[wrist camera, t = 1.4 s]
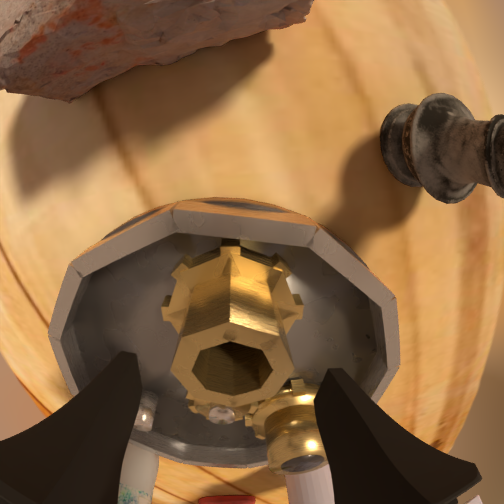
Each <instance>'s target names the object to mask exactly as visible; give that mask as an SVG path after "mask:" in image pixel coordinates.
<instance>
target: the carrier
mask: <svg viewBox="0 0 504 504" xmlns="http://www.w3.org/2000/svg"><path fill="white" fill-rule="evenodd" d="M224 238H233V239H240V246H242V247H245V248H247V249H250V250H253V251H255V252H258V253H261V254H263V255H266V256H269V257H272V256H273V255H274V254H275V253H278V254H279V255H280V256H281V257H282V258H283V259H284V260H285V261H286V262H287V263H288V265H289V267H290V270H291V272H292V274H291V275H290V276H289V277H287V278H286V281H287V283H288V286H289V288H290V291H291V293H292V294H299V295H300V297H301V299H302V302H303V304H304V308H303V316H302V319H297V320H295V321H294V323H293V325H292V326H291V328H290V330H289V331H288V333H287V334H286V337H287V341H288V344H289V348H290V352H291V356H292V360H293V364H294V368H295V369H294V371H293V372H292V373H291V375H290V376H289V377H288V379H287V380H286V381H285V383H284V384H283V385H282V387H281V388H280V389H279V391H278V392H277V393H276V395H275V396H274V397H271V398H267V399H264V400H260V401H257V402H253V403H249V404H245V405H241V406H237V407H231V406H226V405H222V404H217V403H213V402H209V401H205V400H201V399H198V398H194V397H193V396H192V395H191V394H190V393H189V392H188V391H187V389H186V388H185V387H184V386H183V385H182V384H181V382H180V381H179V380H178V379H177V378H176V377H175V375H174V374H173V373H172V372H171V370H170V369H171V365H172V361H173V357H174V353H175V349H176V345H177V341H178V337H179V334H178V332H177V331H176V329H175V328H174V326H173V325H172V323H171V322H170V321H163V315H162V310H161V306H162V303H163V301H164V299H165V296H166V295H171V296H172V295H173V292H174V288H175V285H176V282H177V280H176V279H175V278H174V277H173V276H171V273H172V271H173V269H174V267H175V265H176V264H177V263H178V262H179V261H180V259H181V258H182V257H183V256H184V255H185V254H187V255H189V256H190V257H191V258H194V257H196V256H199V255H201V254H203V253H206V252H208V251H211V250H213V249H216V248H218V247H220V246H221V240H222V239H224ZM48 334H49V335H48V337H49V340H50V343H51V346H52V349H53V351H54V354H55V357H56V359H57V362H58V365H59V367H60V370H61V372H62V374H63V377H64V379H65V381H66V384H67V386H68V388H69V390H70V392H71V394H72V395H73V397H74V396H76V395H77V394H78V393H79V392H80V391H81V390H82V389H84V388H85V387H86V386H87V385H88V384H89V383H90V382H91V381H92V380H93V379H94V378H95V377H96V376H97V375H98V374H99V373H100V372H101V371H102V370H103V369H104V368H105V367H106V366H107V365H108V364H109V363H110V362H111V361H112V359H113V358H114V357H115V356H116V355H117V354H118V353H119V352H120V351H126V352H131V353H136V354H137V359H138V365H139V371H140V376H141V382H142V387H143V390H142V395H141V400H140V405H139V410H138V414H137V417H136V420H135V423H134V426H133V429H132V432H131V436H130V439H129V442H128V443H130V444H132V445H135V446H137V447H139V448H142V449H144V450H146V451H149V452H151V453H154V454H156V455H159V456H162V457H164V458H167V459H170V460H173V461H176V462H179V463H182V462H183V464H189V465H198V466H209V467H223V468H247V467H248V468H253V467H258V466H263V465H268V464H269V470H270V471H271V472H273V473H276V474H280V475H296V474H303V473H307V472H311V471H314V470H317V469H319V468H322V467H324V466H326V465H327V464H328V460H327V457H326V453H325V450H324V447H323V443H322V440H321V436H320V433H319V429H318V426H317V422H316V416H315V409H314V402H313V400H314V398H315V396H316V394H317V392H318V389H319V387H320V385H321V383H322V381H323V379H324V376H325V374H326V372H327V370H328V368H343V369H344V370H345V371H346V372H347V374H348V375H349V376H350V377H351V378H352V379H353V380H354V381H355V382H356V383H357V384H358V385H359V386H360V388H361V389H362V390H363V391H364V392H365V393H366V394H367V395H368V396H369V397H370V398H371V399H372V400H373V401H374V402H375V403H376V404H377V402H378V401H379V399H380V398H381V396H382V395H383V393H384V392H385V390H386V389H387V387H388V385H389V384H390V382H391V381H392V379H393V377H394V376H395V374H396V372H397V371H398V369H399V365H400V341H399V325H398V312H397V302H396V297H395V295H394V294H393V293H392V292H391V291H390V290H389V289H388V288H387V287H386V286H385V285H384V284H383V283H382V282H381V281H380V279H378V278H377V277H376V276H375V275H374V274H373V273H372V272H371V271H370V270H369V268H368V267H367V265H366V264H365V263H364V262H363V261H362V260H361V259H360V258H359V256H358V255H357V254H356V253H355V252H354V251H353V250H352V249H351V248H350V247H349V246H348V245H347V244H346V243H345V242H344V241H342V240H341V239H340V238H338V237H337V236H336V235H334V234H333V233H332V232H330V231H329V230H328V229H326V228H325V227H324V226H322V225H320V224H318V223H316V222H314V221H313V220H312V219H311V218H310V217H309V218H308V217H306V216H305V215H301V214H299V213H296V212H293V211H291V210H288V209H285V208H282V207H279V206H276V205H273V204H268V203H263V202H258V201H253V200H248V199H239V198H219V197H212V198H201V199H191V200H182V201H179V202H178V201H177V202H175V203H171V204H167V205H163V206H159V207H157V208H154V209H152V210H149V211H147V212H145V213H142V214H140V215H138V216H135V217H133V218H132V219H130V220H129V221H127V222H125V223H124V224H122V225H121V226H119V227H118V228H116V229H114V230H113V231H112V232H110V233H109V234H108V235H106V236H105V237H104V238H103V239H102V240H101V241H100V242H98V243H96V244H94V245H93V246H91V247H89V248H87V249H86V250H85V251H84V252H82V253H81V254H80V255H79V256H77V257H76V258H75V259H74V260H73V261H71V263H70V264H69V266H68V268H67V271H66V274H65V277H64V280H63V283H62V286H61V289H60V292H59V295H58V298H57V301H56V305H55V308H54V312H53V315H52V319H51V323H50V326H49V330H48Z"/></svg>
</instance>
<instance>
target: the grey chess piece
mask: <svg viewBox="0 0 504 504" xmlns="http://www.w3.org/2000/svg"><path fill="white" fill-rule="evenodd" d="M380 141H381V151H382V155H383V158H384V161H385V163H386V165H387V167H388V169H389V171H390V172H391V173H392V174H393V176H394V177H395V178H396V179H398V180H399V181H400V182H402V183H403V184H406V185H409V186H412V187H421V186H423V187H424V188H425V189H426V191H427V192H428V193H429V194H430V195H431V196H433V197H434V198H435V199H436V200H438V201H441V202H444V203H446V204H450V203H458V202H460V201H462V200H464V199H465V198H466V197H468V196H469V195H470V194H471V193H472V191H473V190H474V188H475V187H476V185H477V183H479V184H482V185H486V186H489V187H492V189H493V190H494V191H495V193H496V194H497V195H498V196H500V197H501V198H504V115H502V114H501V115H495V116H494V117H493V118H492V119H491V120H490V121H477V120H475V119H474V117H473V115H472V114H471V112H470V111H469V109H468V108H467V107H466V106H465V105H464V104H463V103H462V102H461V101H460V100H458V99H457V98H455V97H454V96H452V95H449V94H445V93H437V94H432V95H430V96H428V97H426V98H425V99H423V101H422V102H421V103H420V104H419V105H414V104H403V105H399V106H397V107H395V108H394V109H392V110H391V111H390V113H389V114H388V115H387V116H386V118H385V120H384V123H383V125H382V129H381V135H380Z"/></svg>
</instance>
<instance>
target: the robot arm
mask: <svg viewBox="0 0 504 504" xmlns="http://www.w3.org/2000/svg"><path fill="white" fill-rule="evenodd" d="M142 390H143V387H142V382H141V376H140V371H139V365H138V359H137V354H136V353H131V352H126V351H120V352H119V353H118V354H117V355H116V356H115V357H114V358H113V359H112V361H111V362H110V363H109V364H108V365H107V366H106V367H105V368H104V369H103V370H102V371H101V372H100V373H99V374H98V375H97V376H96V377H95V378H94V379H93V380H92V381H91V382H90V383H89V384H88V385H87V386H86V387H85V388H84V389H82V390H81V391H80V392H79V393H78V394H77V395H76V396H74V397H73V398H72V399H71V400H70V401H69V402H68V403H66V404H65V405H64V406H63V407H61V408H60V409H59V410H57V411H56V412H54V413H53V414H52V415H50V416H49V417H47V418H46V419H44V420H43V421H41V422H40V423H38V424H36V425H34V426H33V427H31V428H29V429H27V430H25V431H23V432H21V433H19V434H17V435H14V436H12V437H10V438H8V439H5V440H2V441H0V504H118V494H119V484H120V477H121V470H122V464H123V459H124V455H125V452H126V448H127V445H128V442H129V439H130V436H131V432H132V429H133V426H134V423H135V420H136V417H137V414H138V410H139V405H140V400H141V395H142ZM313 402H314V409H315V416H316V422H317V426H318V429H319V433H320V436H321V440H322V443H323V447H324V450H325V453H326V457H327V460H328V464H327V465H326V466H324V467H322V468H319V469H317V470H314V471H311V472H307V473H303V474H296V475H285V480H286V486H287V493H288V499H289V504H458V500H457V497H458V496H460V495H461V494H463V493H464V492H466V491H467V490H469V489H470V488H472V487H473V486H474V485H475V484H477V483H478V482H480V481H481V480H482V477H481V475H480V473H479V471H478V469H477V467H476V465H475V464H474V463H471V462H468V461H464V460H461V459H458V458H455V457H453V456H450V455H448V454H446V453H444V452H441V451H439V450H437V449H435V448H433V447H432V446H430V445H428V444H426V443H425V442H423V441H421V440H420V439H418V438H417V437H415V436H414V435H412V434H411V433H410V432H408V431H407V430H405V429H404V428H403V427H401V426H400V425H399V424H398V423H397V422H395V421H394V420H393V419H392V418H391V417H390V416H389V415H387V414H386V413H385V412H384V411H383V410H382V409H381V408H380V407H379V406H378V405H377V404H376V403H375V402H374V401H373V400H372V399H371V398H370V397H369V396H368V395H367V394H366V393H365V392H364V391H363V390H362V389H361V388H360V386H359V385H358V384H357V383H356V382H355V381H354V380H353V379H352V378H351V377H350V376H349V375H348V374H347V372H346V371H345V370H344V369H343V368H328V370H327V372H326V374H325V376H324V379H323V381H322V383H321V385H320V387H319V389H318V392H317V394H316V396H315V398H314V400H313ZM464 504H483V503H482V501H481V499H480V497H479V495H476V496H475V497H473V498H472V499H470V500H468V501H467V502H465V503H464Z"/></svg>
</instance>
